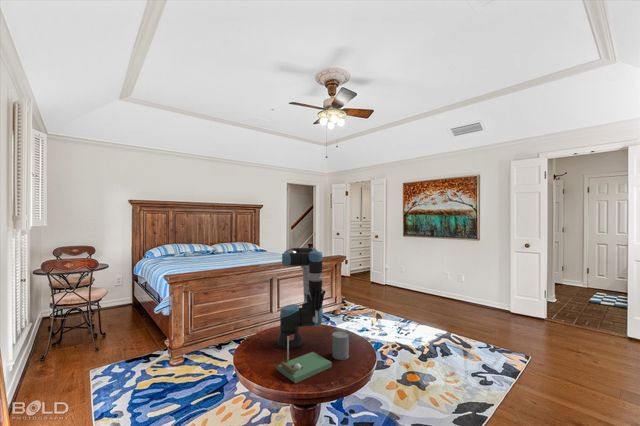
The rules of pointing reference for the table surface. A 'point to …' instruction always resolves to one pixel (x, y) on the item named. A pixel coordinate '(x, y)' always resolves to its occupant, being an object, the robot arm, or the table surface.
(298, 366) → the ball
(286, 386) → the table surface
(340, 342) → the grey can
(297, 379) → the green
